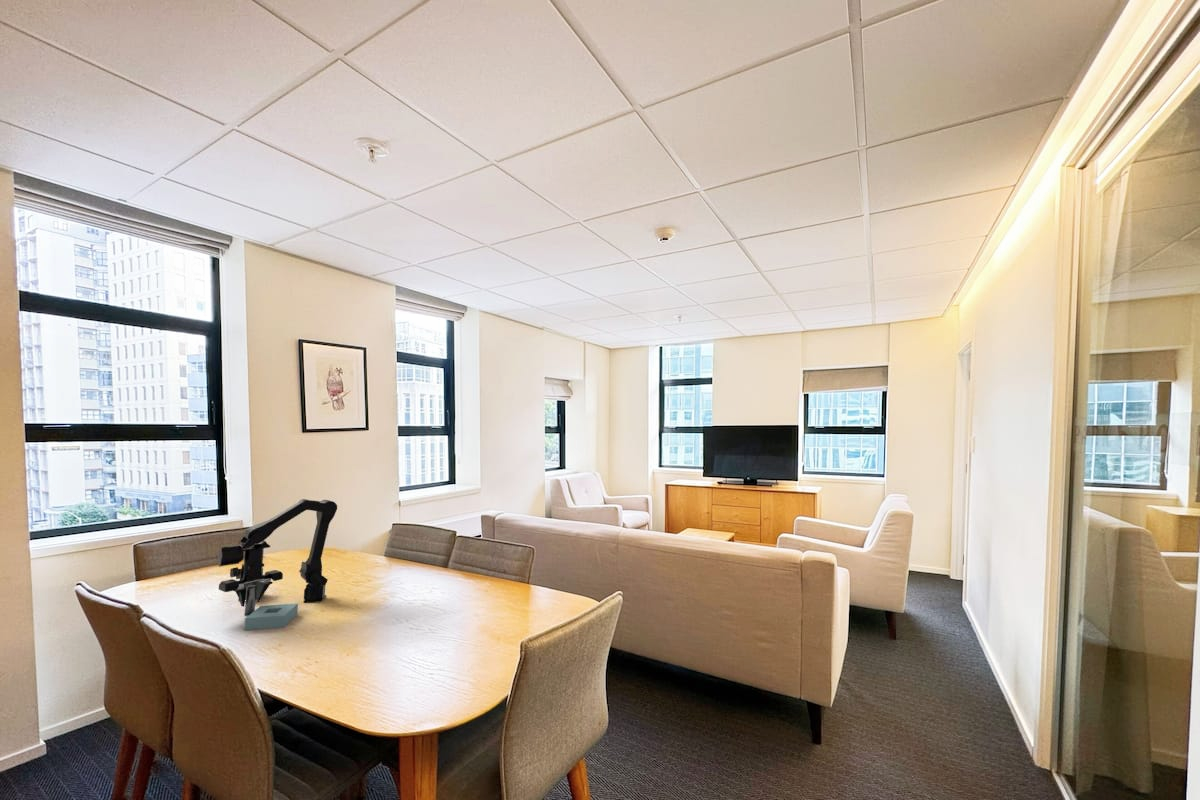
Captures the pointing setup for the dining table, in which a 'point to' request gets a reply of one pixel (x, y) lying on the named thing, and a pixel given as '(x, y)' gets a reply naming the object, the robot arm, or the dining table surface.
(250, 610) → the peg
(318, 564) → the robot arm
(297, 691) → the dining table surface
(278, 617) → the hole block
